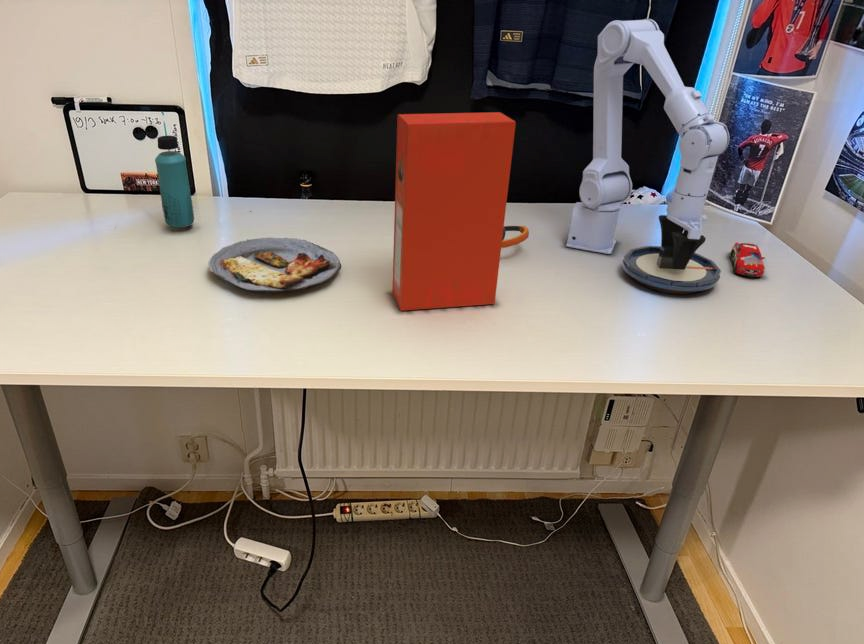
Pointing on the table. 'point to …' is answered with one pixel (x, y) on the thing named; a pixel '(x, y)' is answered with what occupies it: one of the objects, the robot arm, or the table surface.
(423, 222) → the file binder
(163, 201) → the beverage bottle
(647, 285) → the turntable base
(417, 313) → the table surface
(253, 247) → the food plate
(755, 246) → the race car
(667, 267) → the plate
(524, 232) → the headphones
